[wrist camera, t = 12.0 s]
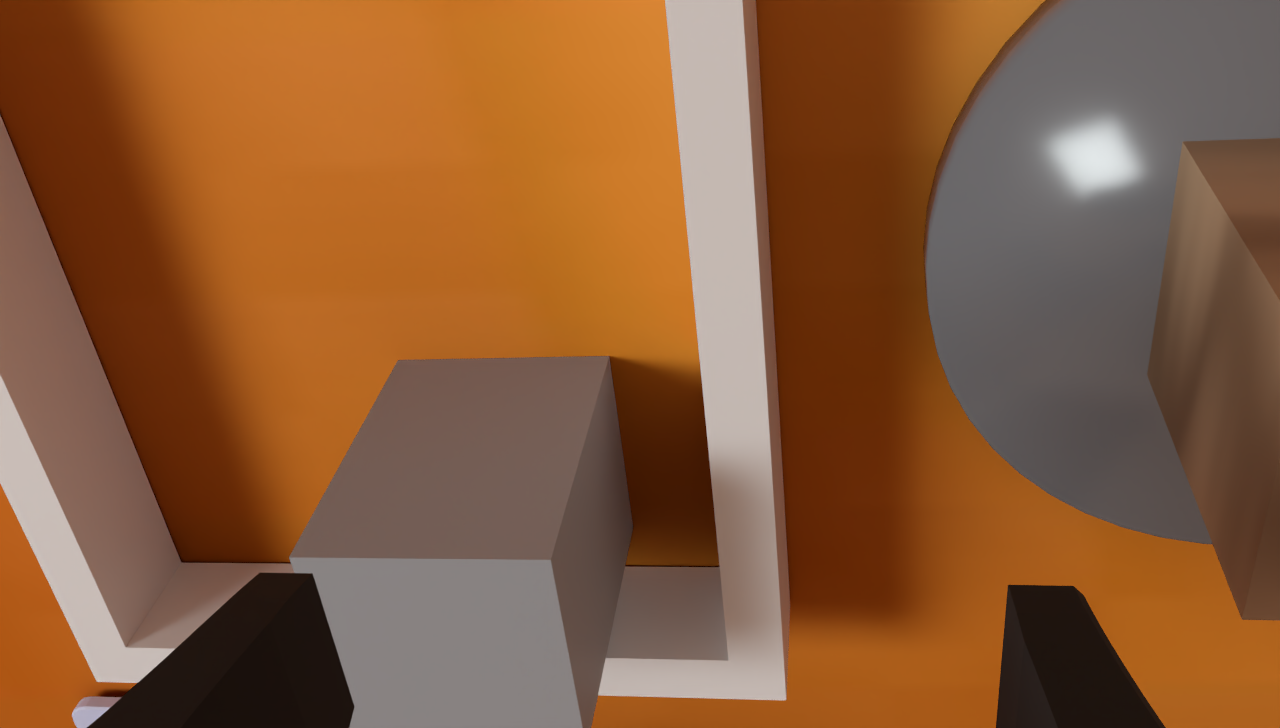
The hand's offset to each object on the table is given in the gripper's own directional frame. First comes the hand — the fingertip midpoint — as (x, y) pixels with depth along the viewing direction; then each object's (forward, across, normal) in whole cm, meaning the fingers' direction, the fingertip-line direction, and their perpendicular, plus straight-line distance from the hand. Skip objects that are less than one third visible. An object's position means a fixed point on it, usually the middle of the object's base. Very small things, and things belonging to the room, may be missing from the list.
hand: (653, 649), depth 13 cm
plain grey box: (+9, +4, +4) cm, 11 cm away
